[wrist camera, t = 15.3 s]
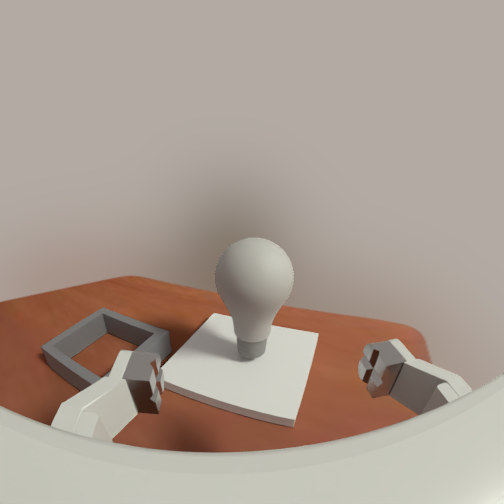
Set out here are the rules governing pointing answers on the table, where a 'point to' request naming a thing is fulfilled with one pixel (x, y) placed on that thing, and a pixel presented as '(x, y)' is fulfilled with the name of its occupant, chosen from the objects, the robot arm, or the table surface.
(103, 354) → the table surface
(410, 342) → the table surface
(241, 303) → the lightbulb
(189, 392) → the mat
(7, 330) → the table surface
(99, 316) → the frame
